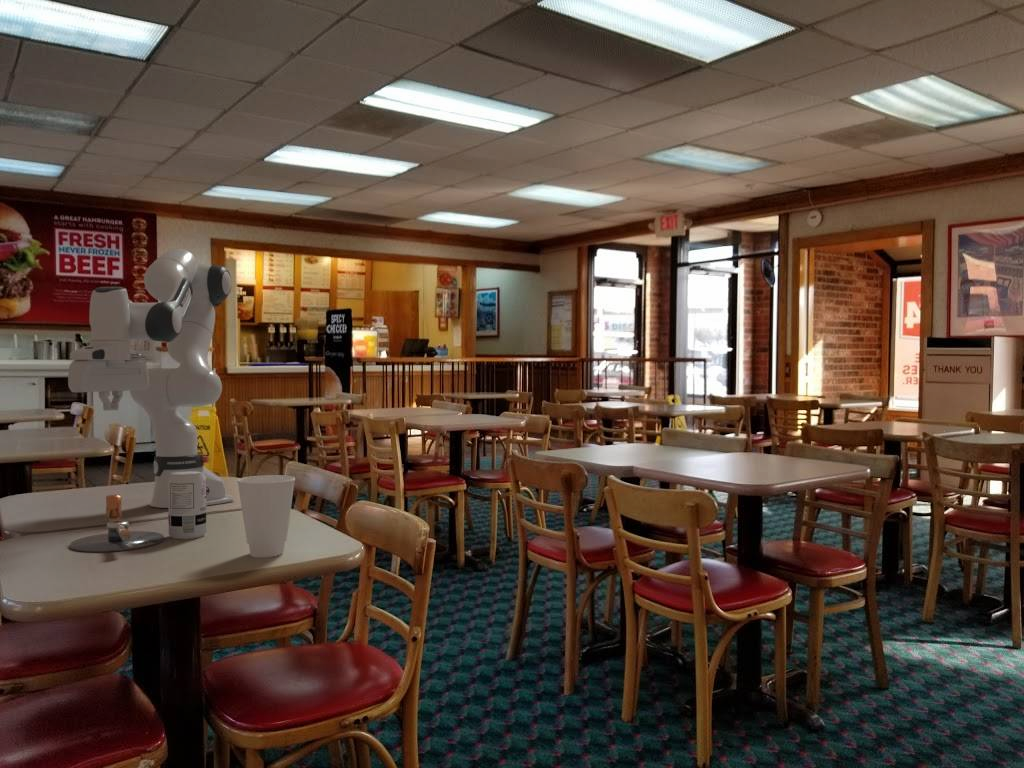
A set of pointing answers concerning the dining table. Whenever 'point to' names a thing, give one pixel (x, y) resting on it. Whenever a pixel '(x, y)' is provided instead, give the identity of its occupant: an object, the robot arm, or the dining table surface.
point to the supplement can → (187, 504)
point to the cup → (266, 512)
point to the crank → (116, 517)
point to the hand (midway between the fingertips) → (111, 410)
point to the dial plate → (116, 541)
